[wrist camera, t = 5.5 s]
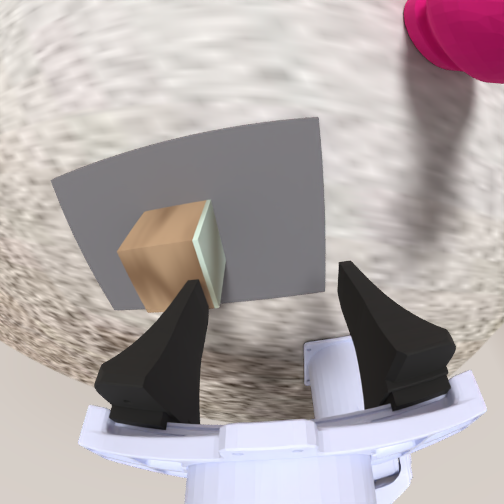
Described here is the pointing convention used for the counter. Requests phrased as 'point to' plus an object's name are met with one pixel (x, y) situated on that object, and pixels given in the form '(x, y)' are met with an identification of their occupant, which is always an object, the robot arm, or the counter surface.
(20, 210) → the counter surface
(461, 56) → the pepper mill
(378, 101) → the counter surface
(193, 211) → the cube
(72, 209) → the mat
